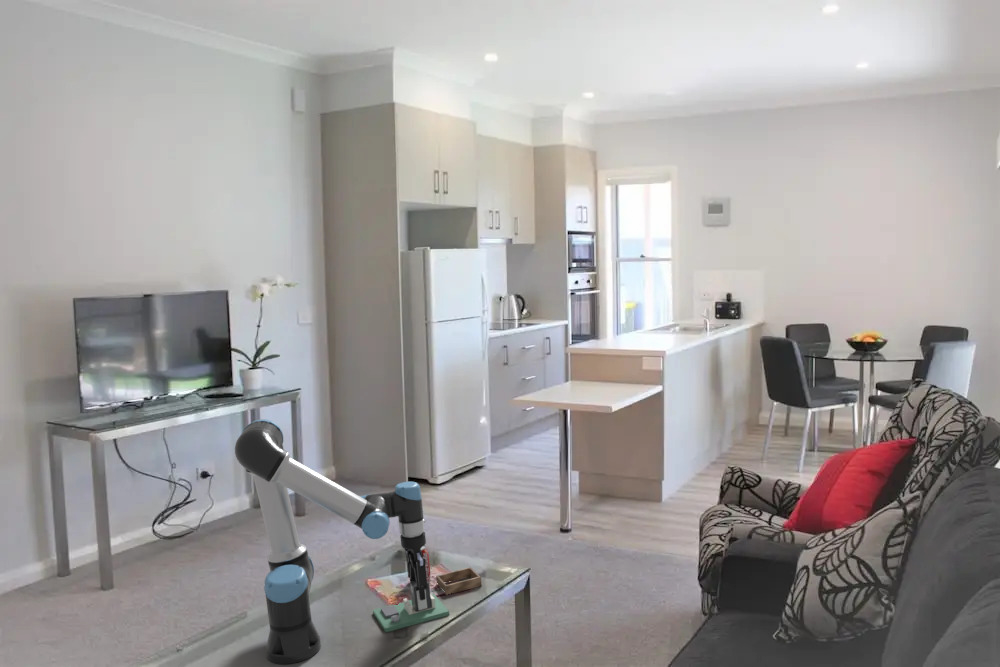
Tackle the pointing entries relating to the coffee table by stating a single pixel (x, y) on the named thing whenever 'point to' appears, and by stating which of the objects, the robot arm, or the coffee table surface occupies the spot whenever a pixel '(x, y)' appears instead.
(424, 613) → the board
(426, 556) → the soda can
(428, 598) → the plug
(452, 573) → the wooden frame
